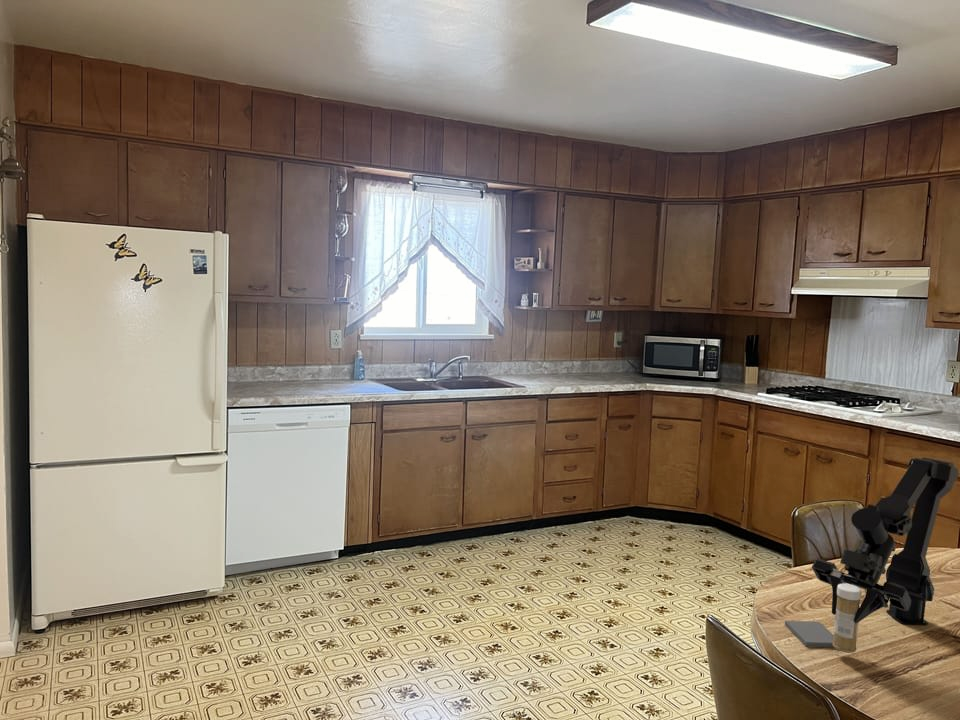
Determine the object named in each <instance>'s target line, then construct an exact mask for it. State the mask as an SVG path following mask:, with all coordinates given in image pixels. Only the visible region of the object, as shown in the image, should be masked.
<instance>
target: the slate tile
mask: <svg viewBox="0 0 960 720" xmlns="http://www.w3.org/2000/svg"><path fill="white" fill-rule="evenodd" d="M784 626H785V627H786V628H787V629H788V630H789V631H790V632H791V633H792V634H793V635H794V637H796V638H797V639H798V641H800V642H801V644H803V646H804V647H805V648H806V647H807V648H809V647H810V648H835V647H834V646H833V641H834V634H833V633H832V632H831V631H830V630H829V629H828V628H827V627H826V626H825V625H823V624H822V622H821V621H811V620H810V621H809V620H805V621H804V620H784Z"/></svg>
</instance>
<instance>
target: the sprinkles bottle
mask: <svg viewBox="0 0 960 720" xmlns="http://www.w3.org/2000/svg"><path fill="white" fill-rule="evenodd" d="M862 592H863V591H862V588H859V587H857V586H855V585H851V584H848V583H846V584H839V585H838V586H837V607H836V614H835V616H834V626H833V633H834V634H833V635H834V641H833V646H834V647H833V648H834V649H835V650H837V651H839V652H842V653H847V654H850V653H851V654H853V653H855V652H856V651H857V641H858V640H857V637H858V632H859V622H858V623H855V622H854V618H855V616H856V613H857V611H858V609H859V608H860V606H861V603H860V602H861V599H862Z"/></svg>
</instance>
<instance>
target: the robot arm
mask: <svg viewBox="0 0 960 720" xmlns="http://www.w3.org/2000/svg"><path fill="white" fill-rule="evenodd" d="M958 478H959V469H958V468H957V467H955V465H954V462H952V461H951V462H950V461H946V460H940V459H935V458H931V457H925V456H924V457H922V458H919V457H915V458H913V457H912V458H911V459H910V460H909V463H908V467H907V469H906V471H905V472H904V473H903V475H902V477H901V479H900V480H899V482H898V483H897V485H896V486H895V487H894V489H893V491H892V492H891V494H890V495H889V496H886V497H883V498H880V499H879V500H878V501H877V502H876V503H875V504H870V503H868V504H867V507H863V508H860V509H857V510H856V511H855V512H854V513H853V514H852V515H851V519H850V520H851V521H850V522H851V524H852V525H853V528H854V530H855V532H856V534H857V536H858V539H859V540H860V541H861V542H862V543H861V545H860V547H859V549H855V550H854V551H853V550H850V549H847V548H844V549H843V551H842V555H841V559H840V560H839V561H840V562H839V563H840V564H841V565H844V568H843V569H844V570H845V571H847V573H846V572H843V571H842V570H840V569H838V568H837V566H836V564H835V563H833V562H831V561H827V560H824V559H822V558H818V559H815V560H814V562H813V564H812V565H811V569H812V571H813V572H814V575H815V576H816V578H817V580H819V581H820V582H822V583H825V584H828V585H830V587H831V588H832V597H831V598H832V599H831V613H832V615H833V616H834V615H836V607H837V586H838V585H839V584H851V585H855V586H857V587H859V588H860V589H861V590H862V589H863V590H865V597H864V598H863V601H862V602H861V603H860V605H859V609H858V611H857V613H856V616H855V618H854V622H855V623H858V624H859V623H860V622H861V621H862V620H864V619H865V618H866V617H868V616H869V615H871V614H872V613H875V612H876V611H878V610H880V609H882V608H888V609H886V613H887V614H889V615H890V616H891V617H892V618H894V619H895V620H896V621H897V622H899V623H901V624H902V625H926V626H927V625H929V622H928V621H927V619H925V612H926V602H932V601H933V599H934V595H935V587H934V585H933V582H932V579H931V577H930V575H931V569H930V566H929V563H928V561H927V557H926V556H927V554H928V553H927V552H928V549H929V545H930V541H931V537H932V534H933V529H934V525H935V523H936V519H937V514H938V510H939V507H940V504H941V500H942V498H944V497H945V496H946V495H947V494H948V493H950V492H951V491H952V489H953V486H954V484H955V483H956V482H957V480H958ZM913 507H914V508H913ZM912 509H913V512H912ZM911 512H912V514H911ZM890 534H891V535H890ZM892 535H894V536H899V537H900V536H901V537H903V536H905V535H906V537H905V540H904V541H905V542H904V546H903V549H902V550H901V551H900V552H898V553H894V554H893V555H892V552H895V551H896V541H895V540H894V538H893V536H892ZM891 555H892V556H891ZM890 557H891V561H890V564H889V565H888V566H887V563H888V561H889V560H890ZM886 566H887V568H886ZM882 575H885V581H884V583H883V585H882V584H879V581H880V578H881V577H882ZM888 603H889V604H888Z"/></svg>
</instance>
